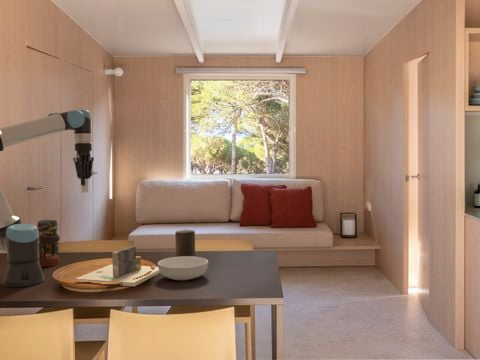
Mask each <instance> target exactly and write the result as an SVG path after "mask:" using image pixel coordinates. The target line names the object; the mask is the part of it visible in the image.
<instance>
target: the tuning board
mask: <svg viewBox="0 0 480 360" xmlns="http://www.w3.org/2000/svg"><path fill="white" fill-rule="evenodd" d="M154 267H155V269H154V270H152V269H151V267H150V266H149V265H141V269H138V270H134V271H131V272H129V273H127V274H124V275H122V276H119V277H118V278H116V277H113V263H111V264H109V265H106V266H104V267H101V268H99V269H96V270H93V271H90V272H89V273H86V274H84V275H81V276H79V277H76V278H75V280H76V279H80V280H87V281H95V282H123V284H122V287H136V286H138V285H140V284H142V283H144V282H146V281H148V280H149V279H152V278H153V277H156V276H157V275H158V274H161V273H160V271H159V268H158V266H154ZM149 271H152V272H151V273H150V274H148V275H146V276H143V277H141V278H138V279H134V278H136V277H139V276H142V275H144V274H146V273H147V272H149ZM133 279H134V280H133Z"/></svg>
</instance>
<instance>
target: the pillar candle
mask: <svg viewBox="0 0 480 360" xmlns="http://www.w3.org/2000/svg"><path fill="white" fill-rule="evenodd" d="M181 256H193V257H196V231H195V230H194V229H183V230H181V229H180V230H175V257H181Z"/></svg>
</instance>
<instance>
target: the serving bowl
mask: <svg viewBox="0 0 480 360" xmlns="http://www.w3.org/2000/svg"><path fill="white" fill-rule="evenodd" d="M157 267H158V268H159V271H160V273H159V274H161V275H162V276H164V277H165V278H167V279H171V280H173V281H174V280H175V281H188V280H193V279H195V278H199V277H200V276H202V275H203V274H205V272H206V271H207V269H208V267H209V260H208V259H207V258H204V257H200V256H195V257H193V256H181V257H176V256H173V257H166V258H163V259H161V260H159V261H158V262H157Z"/></svg>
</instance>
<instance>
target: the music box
mask: <svg viewBox="0 0 480 360" xmlns="http://www.w3.org/2000/svg"><path fill="white" fill-rule="evenodd" d="M51 227H52V224H50V223H49V224H47V225H44V226H42V227H40V228H39V229H38V228H37V229H38V233H39V232H40V231H42V235H40V236H39V235H38V245H39V246H43V248H42V249H41V252H40V251H39V263H40V266H41V268H42V267H43V268H44V267H45V268H47V267H55V266H58V265H59V264H60V256H59V255H58V254H54V249H56V248H57V249H58V248H59V245H60V239H61V237H60V235H59V233H57V234H52V232H50V233H49V232H47V234H43V231H47V230H48V229H50V230H51ZM39 242H40V243H41V244H39ZM57 242H58V243H57ZM55 243H57V244H58V246H57V244H55ZM46 244H47V249H46ZM49 244H50V245H49ZM51 245H52V248H51ZM54 246H55V247H54ZM51 249H52V254H46V253H47V252H46V250H47V251H48V252H51Z"/></svg>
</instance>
